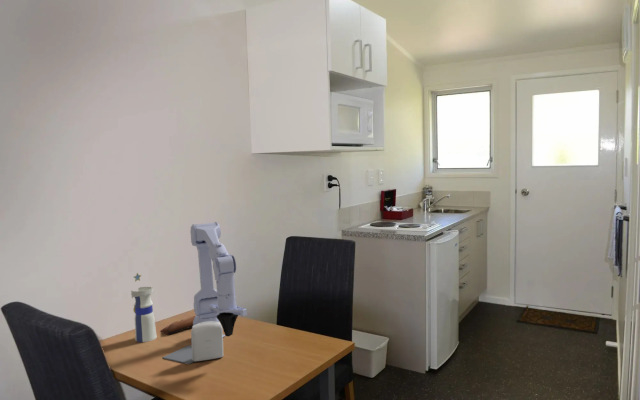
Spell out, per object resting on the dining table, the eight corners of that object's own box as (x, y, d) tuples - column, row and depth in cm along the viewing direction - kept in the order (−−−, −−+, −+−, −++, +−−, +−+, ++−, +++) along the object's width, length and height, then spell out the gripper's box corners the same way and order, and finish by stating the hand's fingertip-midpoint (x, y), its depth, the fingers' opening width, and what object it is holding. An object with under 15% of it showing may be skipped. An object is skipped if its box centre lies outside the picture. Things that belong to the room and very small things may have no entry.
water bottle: (128, 341, 178) (123, 276, 177) (144, 334, 186) (140, 271, 184) (146, 343, 175) (140, 277, 173) (161, 335, 183) (156, 272, 181)
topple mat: (162, 358, 160) (162, 357, 160) (188, 346, 170) (188, 345, 170) (189, 364, 154) (189, 363, 154) (214, 351, 164) (214, 350, 164)
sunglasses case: (198, 319, 201) (201, 307, 198) (206, 330, 197) (210, 318, 194) (158, 331, 188) (161, 318, 186) (166, 343, 184) (169, 331, 182)
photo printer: (192, 363, 154) (191, 326, 153) (191, 357, 158) (190, 321, 157) (224, 358, 157) (223, 322, 156) (222, 353, 161) (221, 318, 160)
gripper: (200, 294, 151) (203, 336, 152) (235, 299, 144) (238, 342, 145) (215, 289, 157) (218, 329, 158) (250, 293, 150) (252, 335, 151)
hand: (228, 335), depth 152 cm, fingers closed
